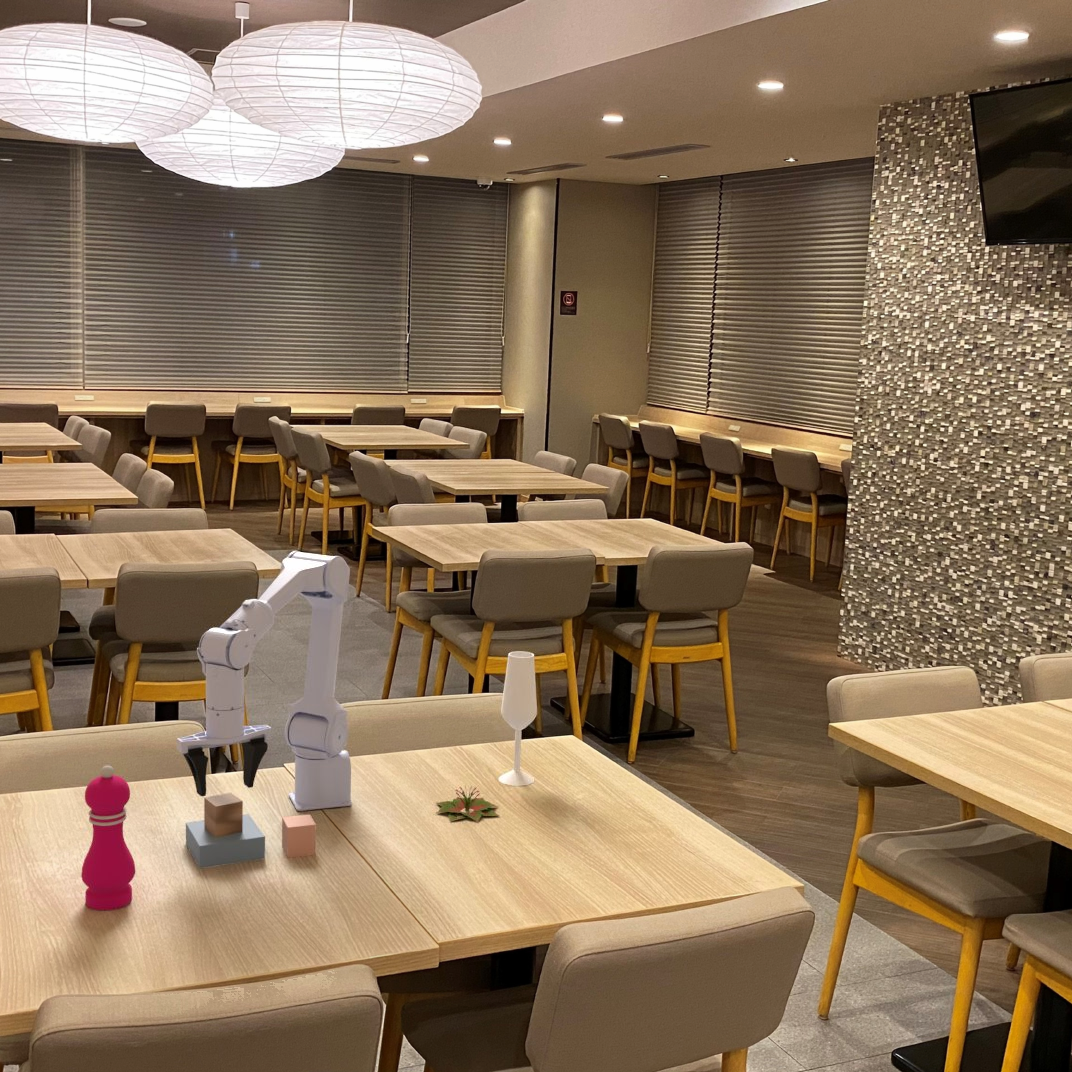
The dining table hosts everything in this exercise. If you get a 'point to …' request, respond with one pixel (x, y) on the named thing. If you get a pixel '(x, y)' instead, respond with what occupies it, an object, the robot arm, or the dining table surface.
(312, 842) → the terracotta block
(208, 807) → the walnut block
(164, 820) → the dining table surface
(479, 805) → the lily flower
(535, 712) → the champagne flute
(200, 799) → the dining table surface
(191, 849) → the base block
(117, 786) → the pepper mill
